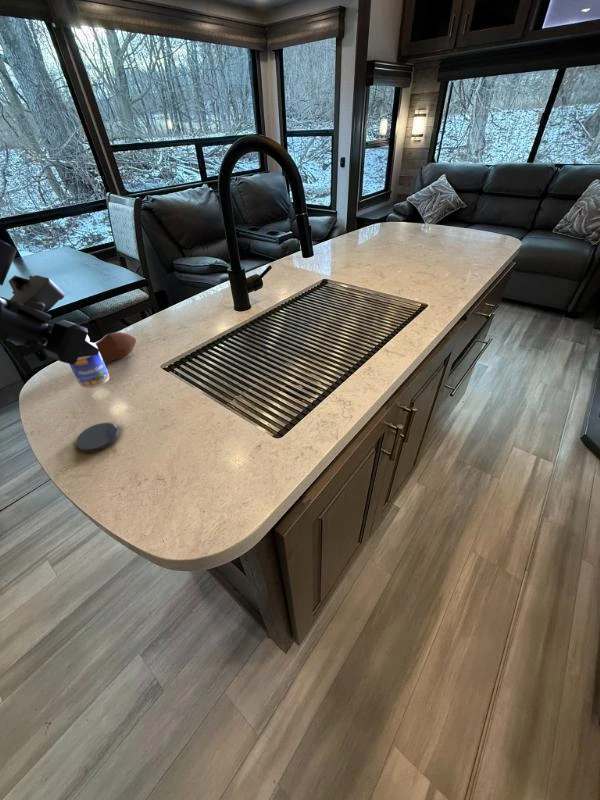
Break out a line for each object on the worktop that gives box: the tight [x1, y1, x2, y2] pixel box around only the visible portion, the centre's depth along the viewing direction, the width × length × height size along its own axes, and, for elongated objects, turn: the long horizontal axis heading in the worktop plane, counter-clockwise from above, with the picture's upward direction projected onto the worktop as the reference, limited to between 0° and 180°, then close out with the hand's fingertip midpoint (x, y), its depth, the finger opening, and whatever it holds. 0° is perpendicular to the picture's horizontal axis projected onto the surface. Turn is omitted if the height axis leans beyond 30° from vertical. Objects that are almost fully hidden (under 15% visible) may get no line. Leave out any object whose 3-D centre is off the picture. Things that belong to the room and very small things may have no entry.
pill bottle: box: [69, 334, 110, 389], centre depth 63 cm, size 5×5×10 cm
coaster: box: [75, 422, 120, 453], centre depth 62 cm, size 7×7×1 cm
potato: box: [94, 331, 137, 362], centre depth 84 cm, size 6×12×6 cm, turn 141°
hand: (88, 348), depth 63 cm, fingers closed on pill bottle, 5 cm apart
